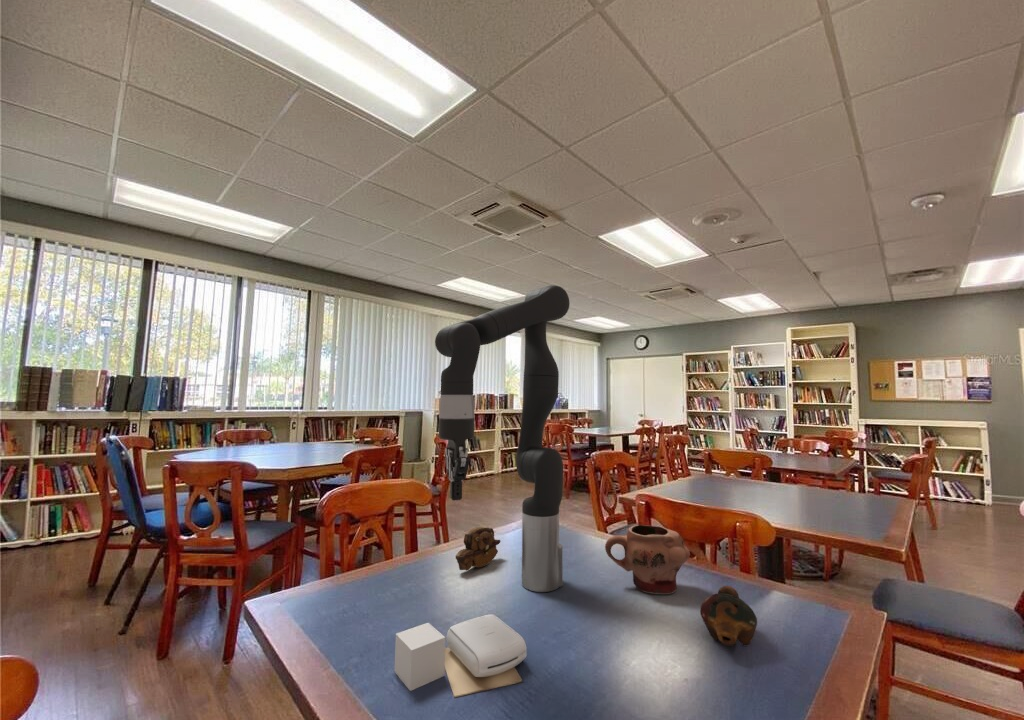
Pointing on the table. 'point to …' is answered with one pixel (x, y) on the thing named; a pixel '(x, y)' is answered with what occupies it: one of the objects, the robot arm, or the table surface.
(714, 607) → the decorative turtle
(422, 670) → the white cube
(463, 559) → the wooden carving
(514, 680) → the cork mat
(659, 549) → the sculpted ceramic mug
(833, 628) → the table surface
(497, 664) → the photo printer
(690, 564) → the table surface
